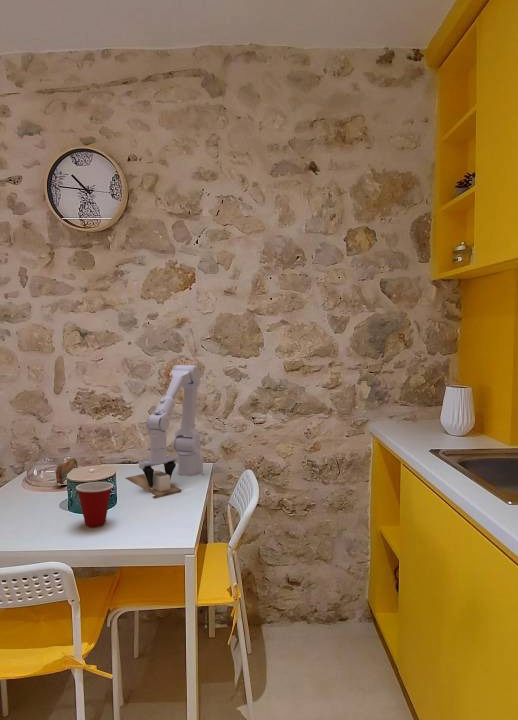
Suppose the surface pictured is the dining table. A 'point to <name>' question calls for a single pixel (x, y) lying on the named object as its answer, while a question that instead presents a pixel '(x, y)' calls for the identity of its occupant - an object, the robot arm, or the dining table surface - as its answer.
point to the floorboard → (143, 483)
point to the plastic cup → (94, 502)
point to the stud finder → (161, 480)
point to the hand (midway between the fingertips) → (159, 484)
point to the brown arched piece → (65, 469)
